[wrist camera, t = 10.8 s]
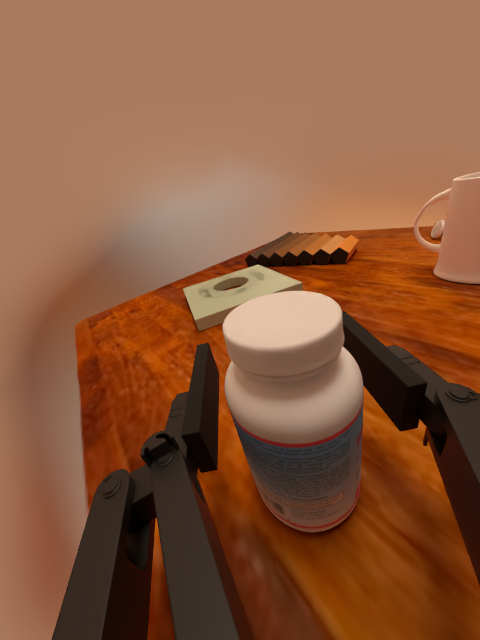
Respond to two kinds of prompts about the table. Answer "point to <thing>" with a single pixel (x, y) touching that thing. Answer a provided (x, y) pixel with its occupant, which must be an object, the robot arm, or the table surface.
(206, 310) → the mounting pad
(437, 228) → the watch
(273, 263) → the pan flute
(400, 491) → the table surface
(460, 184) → the mug
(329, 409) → the pill bottle
